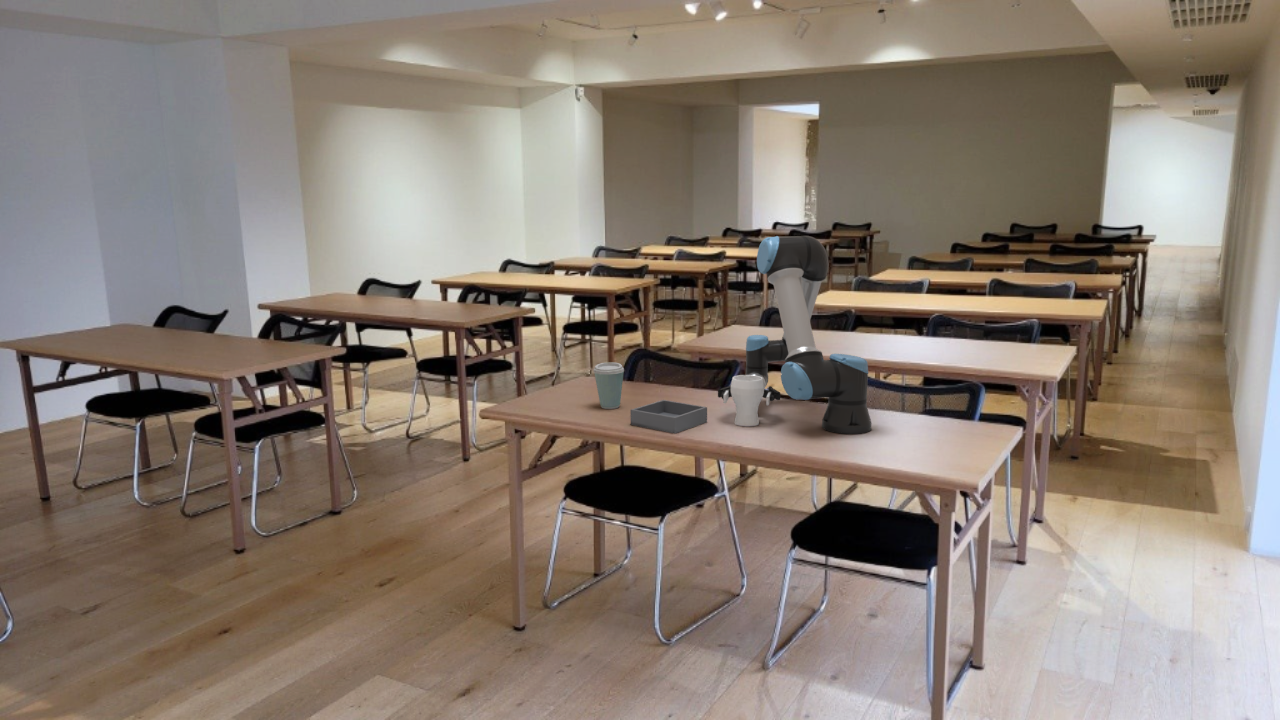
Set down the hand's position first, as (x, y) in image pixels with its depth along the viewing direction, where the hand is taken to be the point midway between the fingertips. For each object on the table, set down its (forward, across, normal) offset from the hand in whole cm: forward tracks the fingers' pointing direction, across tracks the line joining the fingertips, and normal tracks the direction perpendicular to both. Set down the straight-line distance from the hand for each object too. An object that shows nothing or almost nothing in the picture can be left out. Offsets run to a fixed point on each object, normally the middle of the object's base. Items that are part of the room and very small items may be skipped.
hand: (745, 400), depth 290 cm
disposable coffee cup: (-16, +49, -9) cm, 52 cm away
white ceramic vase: (-3, 0, -9) cm, 9 cm away
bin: (+2, +24, -8) cm, 26 cm away
